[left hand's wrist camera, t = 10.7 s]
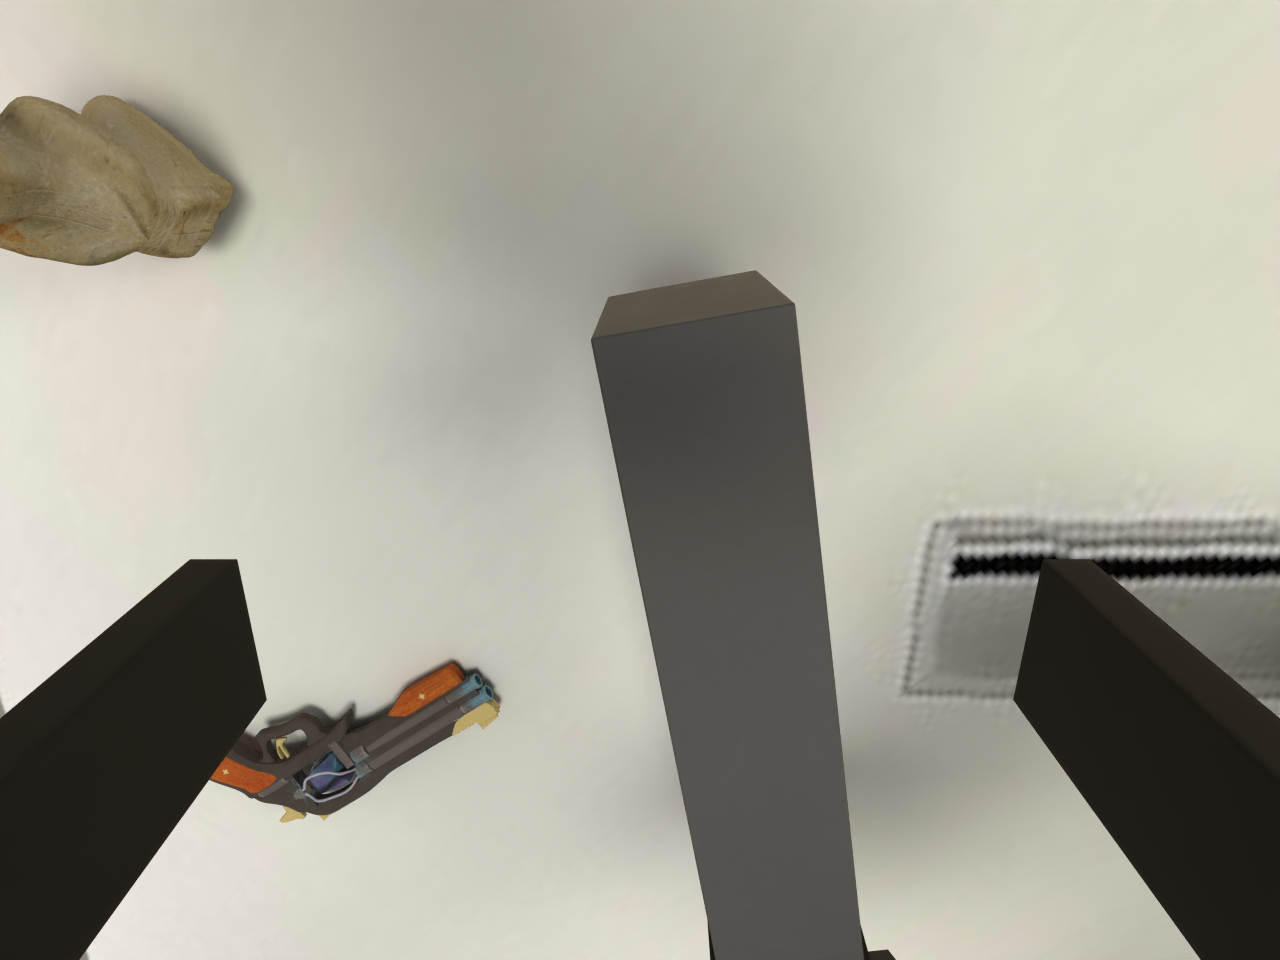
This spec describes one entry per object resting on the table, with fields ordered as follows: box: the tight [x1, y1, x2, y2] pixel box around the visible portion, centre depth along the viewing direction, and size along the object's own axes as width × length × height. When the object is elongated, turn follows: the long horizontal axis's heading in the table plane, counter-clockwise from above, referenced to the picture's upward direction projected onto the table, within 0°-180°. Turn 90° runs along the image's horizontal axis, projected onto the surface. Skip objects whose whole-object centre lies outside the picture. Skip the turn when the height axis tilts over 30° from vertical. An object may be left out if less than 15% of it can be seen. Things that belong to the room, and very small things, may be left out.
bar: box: [591, 271, 864, 960], centre depth 30 cm, size 34×6×8 cm, turn 10°
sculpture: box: [0, 95, 234, 266], centre depth 30 cm, size 6×7×15 cm
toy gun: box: [209, 663, 500, 822], centre depth 47 cm, size 3×19×10 cm
